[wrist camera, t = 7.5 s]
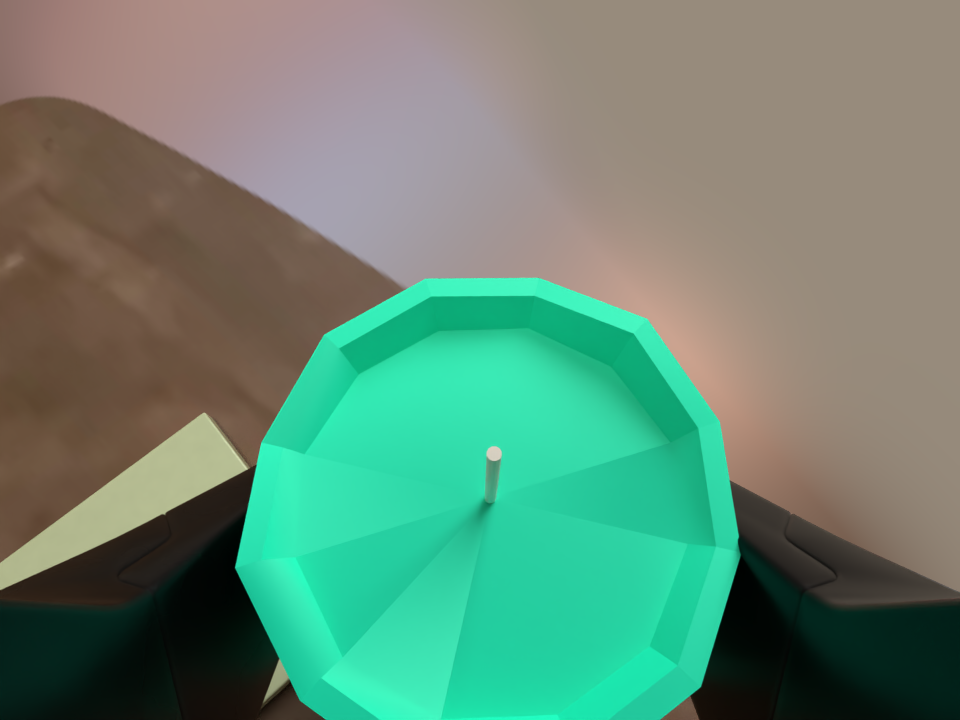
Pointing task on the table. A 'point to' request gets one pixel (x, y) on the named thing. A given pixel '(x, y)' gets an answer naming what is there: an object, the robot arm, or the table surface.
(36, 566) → the tile
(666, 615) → the candle
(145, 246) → the table surface
